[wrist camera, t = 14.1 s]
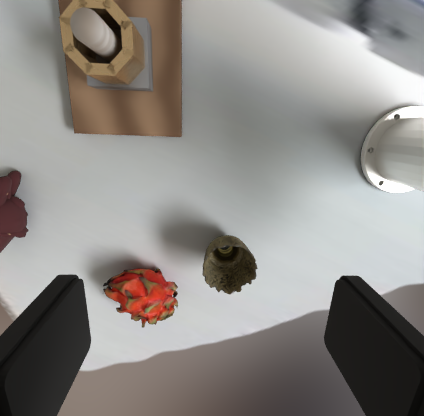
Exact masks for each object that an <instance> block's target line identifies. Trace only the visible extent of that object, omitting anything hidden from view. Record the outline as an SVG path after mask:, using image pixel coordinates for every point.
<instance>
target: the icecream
mask: <svg viewBox="0 0 424 416" xmlns="http://www.w3.org/2000/svg"><path fill="white" fill-rule="evenodd" d="M20 180H21V173H20V172H18V171H12V172H10V173H9V174H8V176H4V177H0V252H1V251H2V250H3V249H4V248H5V247H6V246H7V244H8V243H9V242H10V241H11V240H12V239H13V238H14V237H15V236H16V237H19V238H21V237H25V236H26V232H28V229H27V228H26V225H27V215H28V214H27V212H26V210H25V207H24V206H25V204H24V202H23V201H22V200H21V199H19V198H18V197H15V196H14V195H15V193H16V191H17V189H18V186H19V184H20Z"/></svg>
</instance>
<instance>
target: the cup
mask: <svg viewBox="0 0 424 416" xmlns="http://www.w3.org/2000/svg"><path fill="white" fill-rule="evenodd" d="M226 246H229V248H228V249H226V250H223V249H221V248H223V247H226ZM255 262H256V260H255V258H254V256H253V255H252V253H251V252H250V251H249V249H248V248H247V246H246V245H245V244H244V243H243V242H242V241H241V240H240V239H238V238H236V237H234V236H229V235H225V236H220V237H218V238H216V239H215V240H213V241H212V242H211V243H210V245H209V246H208V248H207V250H206V254H205V258H204V264H203V276H205V281H206V283H207V284H209V285H210V288H212V287H216V290H217V291H218V292H220V290H223V291H224V292H225V293H227V294H232V293H233V292H235V291H237V292H240V291H241V286H243V285H245V284H246V283H249V284H251V283H252V280H255V278H256V269H257V265H256V263H255Z"/></svg>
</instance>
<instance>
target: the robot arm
mask: <svg viewBox="0 0 424 416" xmlns="http://www.w3.org/2000/svg"><path fill="white" fill-rule="evenodd" d="M361 166H362V170H363V173H364V175H365V177H366V178H367V180H368V181H369V182H370V183H371V184H372V185H373V186H375V187H376V188H378V189H381V190H383V191H386V192H391V193H402V192H407V191H410V190H413V189H417V190H420V191H424V107H423V106H407V107H401V108H398V109H396V110H393V111H391V112H389V113H388V114H386V115H384V116H383V117H382V118H381V119H380V120H378V121H377V122H376V124H375V125H374V126H373V127H372V128H371V130H370V131H369V133H368V134H367V136H366V139H365V141H364V143H363V147H362V151H361ZM324 341H325V345H326V347H327V349H328V351H329V353H330V354H331V356H332V358H333V360H334V361H335V363H336V365H337V366H338V368H339V370H340V372H341V373H342V375H343V377H344V378H345V380H346V382H347V384H348V385H349V387H350V389H351V391H352V392H353V394H354V396H355V398H356V399H357V401H358V403H359V404H360V406H361V408H362V410H363V411H364V413H365V415H366V416H424V336H423V335H422V334H421V333H420V332H419V331H418V330H416V329H415V328H414V327H413V326H412V325H411V324H410V323H409V322H408V321H407V320H406V319H405V318H404V317H403V316H402V315H400V314H399V313H398V312H397V311H396V310H395V309H394V308H393V307H392V306H391V305H390V304H389V303H387V302H386V301H385V300H384V299H383V298H382V297H381V296H380V295H379V294H378V293H377V292H376V291H375V290H374V289H373V288H371V287H370V286H369V285H368V284H367V283H366V282H365V281H364V280H363V279H362V278H361V277H359V276H341V277H340V279H339V280H337V281H336V283H335V287H334V292H333V297H332V301H331V306H330V311H329V316H328V321H327V325H326V330H325V335H324ZM90 344H91V335H90V328H89V320H88V312H87V305H86V297H85V290H84V283H83V280H82V279H79V278H78V276H77V275H58V276H57V277H56V278H55V279H54V280H53V281H52V282H51V283H50V284H49V285H48V286H47V287H46V288H45V289H44V290H43V291H42V292H41V293H40V294H39V296H38V297H37V298H36V299H35V300H34V301H33V302H32V303H31V304H30V305H29V306H28V307H27V308H26V309H25V310H24V311H23V312H22V313H21V315H20V316H19V317H18V318H17V319H16V320H15V321H14V322H13V323H12V324H11V325H10V326H9V327H8V328H7V329H6V330H5V331H4V333H3V334H2V335H1V336H0V416H57V414H58V412H59V410H60V408H61V406H62V404H63V402H64V400H65V398H66V396H67V394H68V392H69V390H70V388H71V386H72V383H73V381H74V379H75V377H76V375H77V373H78V371H79V369H80V367H81V365H82V363H83V361H84V359H85V357H86V355H87V353H88V351H89V348H90Z"/></svg>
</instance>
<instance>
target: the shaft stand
mask: <svg viewBox="0 0 424 416" xmlns="http://www.w3.org/2000/svg"><path fill="white" fill-rule="evenodd" d="M58 1H59V10H60V16H61V15H62V13H63V12H64V11H65V10H66V8H67V7H68V6H69V5H70V3H71V2H72V1H73V0H58ZM113 1H114V2H115V3H116V4H117V5H118V6H119V8H120V9H121V10H122V11H123V12H124V13H125V14H126V16H127V17H128V18H129V19H130V20H131V21H132V22H133V24H134V26H135V27H136V29H137V30H138V32H139V33H140V35H141V37H142V38H143V40H144V52H145V68H144V69H143V70H142V71H141V73H140V74H139V75H138V76H137V77H136V78H135V79H134V80H133V81H132V82H131V84H130V85H125V84H106V83H104V82H101V81H99V80H97V79H95V78H93V77H91V76H88V75H86V74H85V73H84V72H83V70H82V69H81V68H80V67H79V66H78V65H77V64H76V63H75V62H74V61H73V60H72V59H71V58H70V57H69V56H68V55H67V54H66V53H65V59H66V68H67V76H68V84H69V93H70V101H71V109H72V117H73V126H74V133H82V134H111V135H140V136H169V137H181V136H182V0H113ZM70 26H71V30H72V32H73V34H74V36H75V37H76V38H77V39H78V40H79V41H80V42H82V43H83V44H84V45H86V46H87V47H89V48H90V49H91V50H93V51H94V52H96V61H97V62H98V63H102V64H110V63H111V62H112V60H113V59H114V58H115V57H116V56H117V55H118V54H119V52H120V51H121V50H122V35H121V30H111V29H110V28H109V27H108V25H107V24H106V23H105V22H104V21H103V20H102V19H101V18H100V17H99V15H98V14H97V13H96V12H95V11H93V10H92V9H89V8H85V7H83V8H79V9H77V10H76V11H74V13H73V14H72V16H71V20H70Z"/></svg>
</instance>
